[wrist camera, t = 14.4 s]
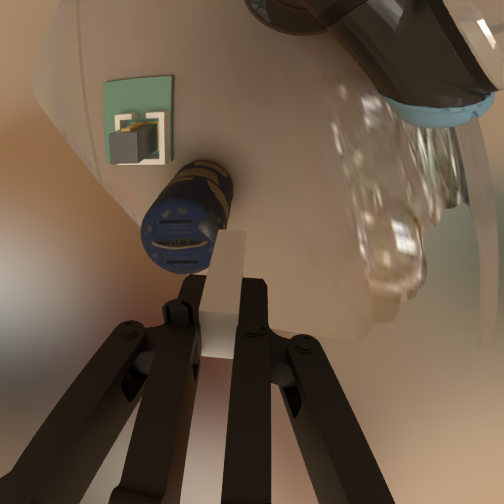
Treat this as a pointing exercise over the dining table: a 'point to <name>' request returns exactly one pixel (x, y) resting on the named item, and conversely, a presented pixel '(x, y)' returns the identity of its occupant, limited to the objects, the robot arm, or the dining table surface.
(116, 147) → the plug
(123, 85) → the board
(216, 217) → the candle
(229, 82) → the dining table surface
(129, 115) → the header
